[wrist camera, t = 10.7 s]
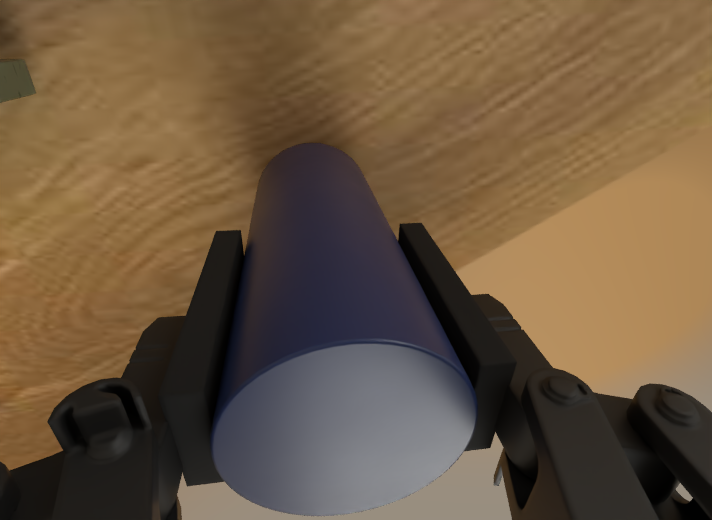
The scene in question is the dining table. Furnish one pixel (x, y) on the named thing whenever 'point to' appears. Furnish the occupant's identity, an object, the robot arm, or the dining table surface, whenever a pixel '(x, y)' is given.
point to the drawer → (14, 80)
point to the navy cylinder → (333, 353)
